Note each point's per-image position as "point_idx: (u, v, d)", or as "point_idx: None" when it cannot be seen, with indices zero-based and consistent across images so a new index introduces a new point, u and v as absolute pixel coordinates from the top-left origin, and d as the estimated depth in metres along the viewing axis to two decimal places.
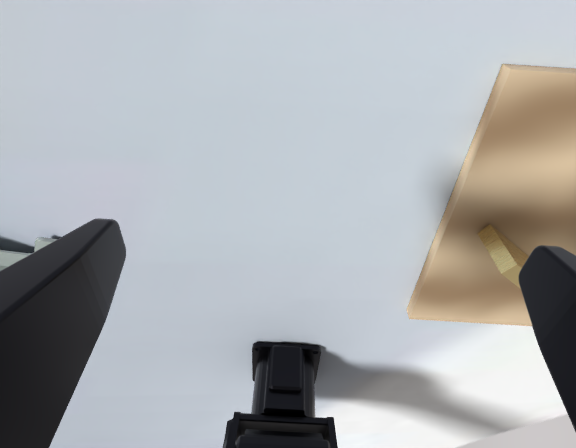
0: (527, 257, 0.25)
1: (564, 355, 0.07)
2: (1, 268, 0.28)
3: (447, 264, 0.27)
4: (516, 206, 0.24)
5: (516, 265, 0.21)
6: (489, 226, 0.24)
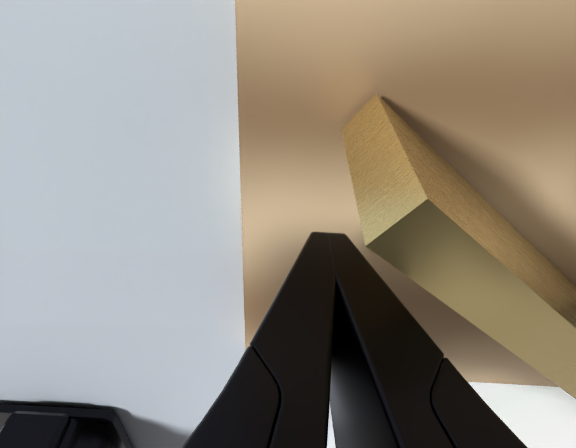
0: (496, 213, 0.09)
1: None
2: None
3: (283, 244, 0.10)
4: (440, 34, 0.07)
5: (426, 204, 0.04)
6: (372, 100, 0.07)
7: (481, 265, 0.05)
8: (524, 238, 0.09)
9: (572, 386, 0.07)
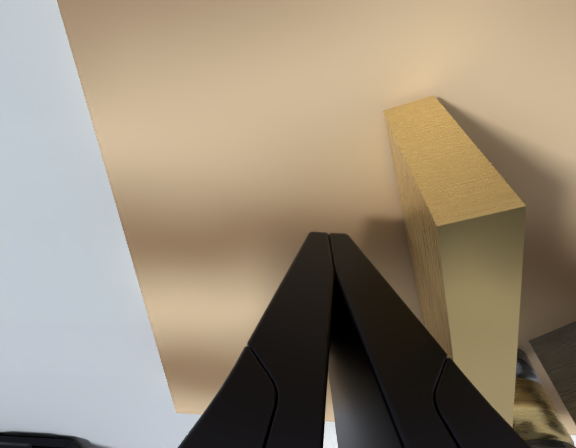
0: None
1: (330, 342, 0.07)
2: None
3: (184, 325, 0.12)
4: (266, 198, 0.09)
5: (518, 211, 0.04)
6: (429, 99, 0.07)
7: (505, 290, 0.05)
8: None
9: None
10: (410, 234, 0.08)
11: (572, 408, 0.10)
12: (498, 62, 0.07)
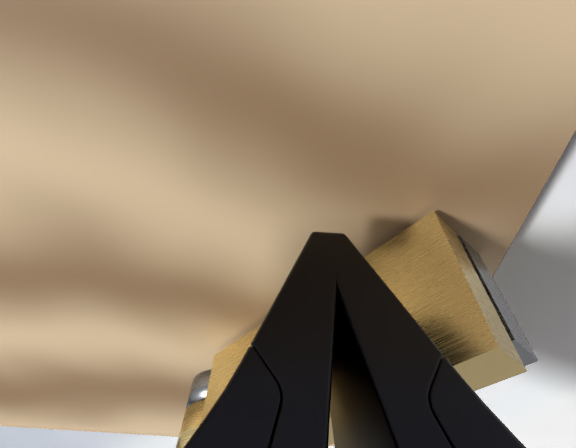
0: None
1: None
2: None
3: None
4: None
5: (520, 370, 0.06)
6: (454, 233, 0.09)
7: None
8: None
9: None
10: None
11: None
12: (44, 150, 0.09)
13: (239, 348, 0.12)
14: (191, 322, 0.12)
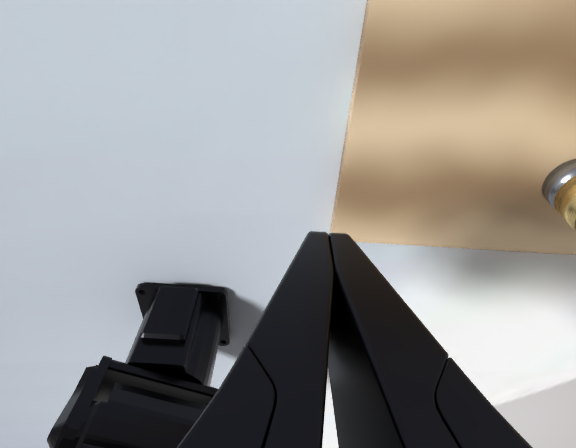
0: None
1: (330, 342, 0.07)
2: None
3: (370, 143, 0.18)
4: (461, 25, 0.15)
5: None
6: None
7: None
8: None
9: None
10: None
11: None
12: None
13: None
14: None
